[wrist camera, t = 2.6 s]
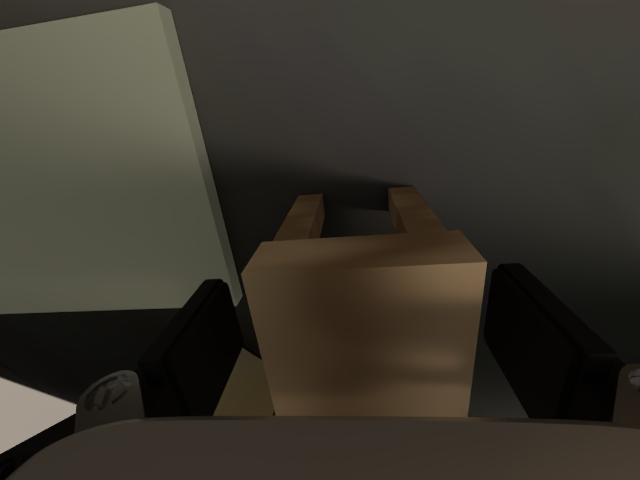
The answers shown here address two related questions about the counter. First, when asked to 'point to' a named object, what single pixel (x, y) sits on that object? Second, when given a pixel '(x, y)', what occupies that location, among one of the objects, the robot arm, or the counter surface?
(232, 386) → the beige block
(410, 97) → the counter surface
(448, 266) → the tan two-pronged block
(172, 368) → the robot arm
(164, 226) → the sage mat
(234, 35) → the counter surface
